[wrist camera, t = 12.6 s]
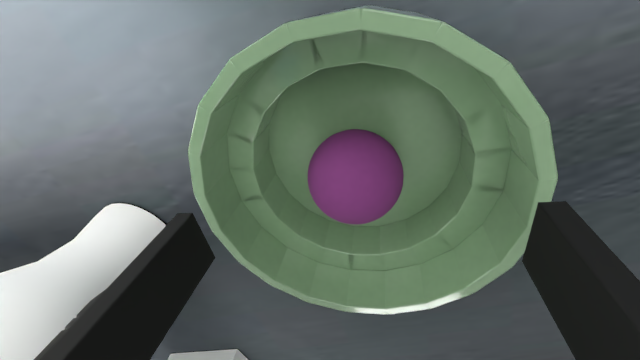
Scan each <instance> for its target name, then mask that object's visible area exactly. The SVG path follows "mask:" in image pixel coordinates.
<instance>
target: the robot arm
mask: <svg viewBox="0 0 640 360" xmlns="http://www.w3.org/2000/svg"><path fill="white" fill-rule="evenodd" d="M214 259H215V256H214V254H213V252H212V250H211V248H210V246H209V245H208V243H207V241H206V239H205V237H204V235H203V233H202V231H201V229H200V227H199V225H198V223H197V221H196V219H195V217H194V215H193V213H180V214H177V215H176V216H175V217H174V218H173V219H172V220H171V221H170V222H169V223H168V224H167V225H166V226H165V227H164V229H163V230H162V231H161V232H160V233H159V234H158V235H157V236H156V237H155V238H154V239H153V240H152V241H151V242H150V243H149V244H148V245H147V246H146V248H145V249H144V250H143V251H142V252H141V253H140V254H139V255H138V256H137V257H136V258H135V259H134V260H133V261H132V262H131V263H130V264H129V265H128V267H127V268H126V269H125V270H124V271H123V272H122V273H121V274H120V275H119V276H118V277H117V278H116V279H115V280H114V281H113V282H112V283H111V284H110V286H109V287H108V288H107V289H105V290H104V291H103V292H101V293H100V294H99V295H97V296H96V297H95V298H93V299H92V300H91V301H90V302H89V303H88V304H87V305H86V306H85V307H84V308H83V309H82V310H81V311H80V312H79V313H78V314H77V317H76V318H73V319H72V320H71V321H70V322H69V323H68V324H67V325H66V327H65V330H62V331H61V332H60V333H59V334H58V335H57V336H56V337H55V338H54V339H53V340H52V341H51V342H50V343H49V344H48V345H47V346H46V347H45V348H44V349H43V350H42V351H41V352H40V354H39V355H38V356H37V357H36V358H35V359H34V360H150V359H151V357H152V356H153V354H154V352H155V351H156V349H157V348H158V346H159V345H160V343H161V341H162V340H163V338H164V337H165V335H166V334H167V332H168V331H169V329H170V327H171V326H172V324H173V323H174V321H175V320H176V318H177V316H178V315H179V313H180V312H181V310H182V309H183V307H184V305H185V304H186V302H187V301H188V299H189V298H190V296H191V295H192V293H193V291H194V290H195V288H196V287H197V285H198V284H199V282H200V280H201V279H202V277H203V276H204V274H205V273H206V271H207V269H208V268H209V266H210V265H211V263H212V262H213V260H214ZM522 262H523V264H524V266H525V268H526V269H527V271H528V273H529V275H530V277H531V279H532V280H533V282H534V284H535V286H536V288H537V290H538V291H539V293H540V295H541V297H542V299H543V301H544V302H545V304H546V306H547V308H548V310H549V312H550V313H551V315H552V317H553V319H554V321H555V323H556V324H557V326H558V328H559V330H560V332H561V334H562V335H563V337H564V339H565V341H566V343H567V345H568V346H569V348H570V350H571V352H572V354H573V355H574V357H575V359H576V360H640V281H639V280H638V279H637V278H636V277H635V276H634V275H633V273H632V272H631V271H630V270H629V269H628V268H627V267H626V266H625V265H624V264H623V263H622V262H621V260H620V259H619V258H618V257H617V256H616V255H615V254H614V253H613V252H612V251H611V250H610V249H609V248H608V246H607V245H606V244H605V243H604V242H603V241H602V240H601V239H600V238H599V237H598V236H597V235H596V233H595V232H594V231H593V230H592V229H591V228H590V227H589V226H588V225H587V224H586V223H585V222H584V221H583V219H582V218H581V217H580V216H579V215H578V214H577V213H576V212H575V211H574V210H573V209H572V208H571V206H570V205H569V204H568V203H567V202H566V201H565V202H538V205H537V209H536V212H535V216H534V220H533V223H532V227H531V231H530V234H529V238H528V242H527V245H526V249H525V253H524V256H523V260H522Z"/></svg>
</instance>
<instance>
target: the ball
mask: <svg viewBox="0 0 640 360" xmlns="http://www.w3.org/2000/svg"><path fill="white" fill-rule="evenodd" d="M403 178H404V173H403V167H402V163H401V160H400V158H399V155H398V154H397V152H396V150H395V149H394V147H393V146H392V145H391V144H390V143H389V142H388V141H387V140H386V139H384V138H383V137H381V136H380V135H378V134H376V133H373V132H371V131H367V130H362V129H350V130H344V131H341V132H338V133H336V134H333V135H332V136H330V137H328V138H327V139H326V140H325V141H323V142H322V143H321V144H320V145H319V146H318V148H317V149H316V151H315V152H314V154H313V156H312V158H311V160H310V164H309V167H308V186H309V190H310V193H311V196H312V198H313V200H314V202H315V203H316V205H317V206H318V207H319V208H320V210H321V211H323V212H324V213H325V214H326V215H327V216H329V217H330V218H332V219H334V220H336V221H339V222H342V223H346V224H355V225H356V224H366V223H370V222H372V221H375V220H377V219H379V218H381V217H382V216H384V215H385V214H386V213H387V212H388V211H389V210H391V209H392V207H393V206H394V205H395V203H396V202H397V200H398V198H399V196H400V194H401V191H402V187H403Z"/></svg>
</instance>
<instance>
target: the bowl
mask: <svg viewBox="0 0 640 360" xmlns="http://www.w3.org/2000/svg"><path fill="white" fill-rule="evenodd" d="M350 129H362V130H367V131H371V132H373V133H376V134H378V135H380V136H381V137H383V138H384V139H386V140H387V141H388V142H389V143H390V144H391V145H392V146H393V147H394V149H395V150H396V152H397V154H398V155H399V158H400V160H401V163H402V167H403V173H404V178H403V187H402V191H401V194H400V196H399V198H398V200H397V202H396V203H395V205H394V206H393V207H392V209H391V210H389V211H388V212H387V213H386V214H385V215H384V216H382V217H381V218H379V219H377V220H375V221H372V222H370V223H366V224H356V225H355V224H346V223H342V222H339V221H336V220H334V219H332V218H330V217H329V216H327V215H326V214H325V213H324V212H323V211H321V210H320V208H319V207H318V206H317V205H316V203H315V202H314V200H313V198H312V196H311V193H310V190H309V186H308V167H309V164H310V160H311V158H312V156H313V154H314V152H315V151H316V149H317V148H318V146H319V145H320V144H321V143H322V142H323V141H325V140H326V139H327V138H328V137H330V136H332V135H333V134H336V133H338V132H341V131H344V130H350ZM188 158H189V164H190V171H191V178H192V185H193V192H194V195H195V198H196V200H197V202H198V204H199V206H200V208H201V210H202V212H203V214H204V216H205V218H206V220H207V222H208V224H209V226H210V228H211V231H213V233H214V234H215V236H216V237H217V238H218V239H219V240H220V241H221V243H222V244H223V245H224V246H225V247H226V248H227V249H228V251H229V252H230V253H231V254H232V255H233V256H234V258H235V259H236V260H237V261H239V263H240V264H242V265H243V266H244V267H246V268H247V269H248V270H250V271H251V272H253V273H254V274H255V275H257V276H258V277H259V278H261V279H262V280H263V281H265V282H266V283H268V284H269V285H271V286H273V287H275V288H277V289H279V290H281V291H284V292H286V293H288V294H290V295H292V296H294V297H297V298H299V299H301V300H303V301H305V302H308V303H312V304H316V305H320V306H324V307H328V308H332V309H336V310H340V311H344V312H353V313H368V314H384V315H387V314H388V315H389V314H397V313H405V312H413V311H420V310H428V309H432V308H435V307H438V306H441V305H444V304H446V303H449V302H452V301H455V300H458V299H461V298H463V297H466V296H469V295H472V293H475V292H477V291H478V290H480V289H481V288H483V287H484V286H486V285H487V284H489V283H490V282H492V281H493V280H495V279H496V278H498V277H499V276H501V275H502V274H504V273H505V272H507V271H508V270H510V269H511V267H513V266H514V265H515V264H516V262H517V261H518V260H519V259H520V257H521V256H522V255H523V254H524V252H525V249H526V245H527V242H528V238H529V234H530V231H531V227H532V223H533V220H534V216H535V212H536V209H537V205H538V202H551V200H552V197H553V194H554V190H555V187H556V184H557V180H558V178H557V177H558V173H557V166H556V160H555V153H554V147H553V140H552V134H551V127H550V120H549V117H548V116H547V114H546V113H545V111H544V110H543V108H542V107H541V106H540V104H539V103H538V101H537V100H536V98H535V97H534V95H533V94H532V93H531V91H530V90H529V88H528V87H527V85H526V84H525V83H524V81H523V80H522V78H521V77H520V75H519V74H518V72H517V71H516V70H515V68H514V67H513V65H512V64H511V63H510V62H508V60H507V59H505V58H503V57H502V56H500V55H498V54H497V53H495V52H493V51H492V50H490V49H488V48H487V47H485V46H483V45H482V44H480V43H478V42H477V41H475V40H474V39H472V38H470V37H469V36H467V35H465V34H464V33H462V32H460V31H459V30H457V29H455V28H454V27H452V26H450V25H449V24H447V23H445V22H443V21H440V20H438V19H435V18H432V17H429V16H426V15H423V14H421V13H416V12H410V11H404V10H398V9H392V8H386V7H380V6H374V5H364V6H359V7H354V8H349V9H344V10H339V11H334V12H329V13H324V14H319V15H315V16H311V17H307V18H303V19H298V20H294V21H290V22H287V23H284V24H282V25H281V26H279V27H278V28H276V29H275V30H273V31H272V32H270V33H268V34H267V35H265V36H264V37H262V38H261V39H259V40H258V41H256V42H255V43H253V44H251V45H250V46H248V47H247V48H245V49H244V50H242V51H241V52H239V53H238V54H236V55H234V56H233V57H231V58H230V60H229V61H228V62H227V64H226V65H225V66H224V68H223V69H222V71H221V72H220V74H219V75H218V76H217V78H216V79H215V81H214V82H213V84H212V85H211V87H210V88H209V89H208V91H207V92H206V94H205V95H204V97H203V98H202V100H201V101H200V102H199V105H198V107H197V112H196V116H195V121H194V126H193V130H192V135H191V139H190V144H189V148H188Z"/></svg>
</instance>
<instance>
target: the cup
mask: <svg viewBox="0 0 640 360" xmlns="http://www.w3.org/2000/svg"><path fill="white" fill-rule="evenodd" d="M165 226H166V225H165V224H164V223H163V222H162V221H161V220H159V219H158V218H157V217H155V216H154V215H153V214H151V213H149V212H147V211H145V210H144V209H141V208H139V207H136V206H133V205H129V204H123V203H116V204H110V205H108V206H106V207H104V208H103V209H102V210H101V211H100V212H99V213H98V214H97V215H96V216H95V217H94V218H93V219H92V220H91V221H90V222H89V223H88V224H87V225H86V226H85V228H84V229H83V230H82V231H81V232H80V233H79V234H78V235H77V236H76V237H75V238H74V239H73V240H72V241H70V242H69V243H67V244H65V245H64V246H62V247H60V248H59V249H57V250H55V251H54V252H52V253H50V254H49V255H47V256H46V257H44V258H42V259H41V260H39V261H37V262H34V263H31V264H28V265H25V266H21V267H18V268H15V269H12V270H8V271H5V272H2V273H0V360H34V359H35V358H36V357H37V356H38V355H39V354H40V352H41V351H42V350H43V349H44V348H45V347H46V346H47V345H48V344H49V343H50V342H51V341H52V340H53V339H54V338H55V337H56V336H57V335H58V334H59V333H60V332H61V331H62V330H65V327H66V325H67V324H68V323H69V322H70V321H71V320H72V319H73V318H76V317H77V314H78V313H79V312H80V311H81V310H82V309H83V308H84V307H85V306H86V305H87V304H88V303H89V302H90V301H91V300H92V299H93V298H95V297H96V296H97V295H99V294H100V293H101V292H103V291H104V290H105V289H107V288H108V287H109V286H110V284H111V283H112V282H113V281H114V280H115V279H116V278H117V277H118V276H119V275H120V274H121V273H122V272H123V271H124V270H125V269H126V268H127V267H128V265H129V264H130V263H131V262H132V261H133V260H134V259H135V258H136V257H137V256H138V255H139V254H140V253H141V252H142V251H143V250H144V249H145V248H146V246H147V245H148V244H149V243H150V242H151V241H152V240H153V239H154V238H155V237H156V236H157V235H158V234H159V233H160V232H161V231H162V230H163V229H164V227H165Z"/></svg>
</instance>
